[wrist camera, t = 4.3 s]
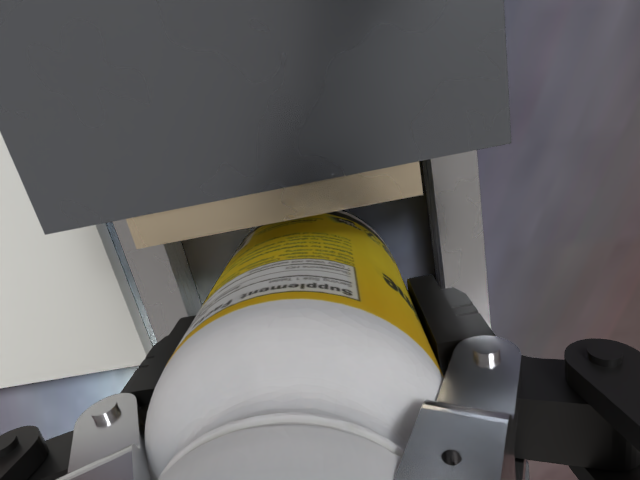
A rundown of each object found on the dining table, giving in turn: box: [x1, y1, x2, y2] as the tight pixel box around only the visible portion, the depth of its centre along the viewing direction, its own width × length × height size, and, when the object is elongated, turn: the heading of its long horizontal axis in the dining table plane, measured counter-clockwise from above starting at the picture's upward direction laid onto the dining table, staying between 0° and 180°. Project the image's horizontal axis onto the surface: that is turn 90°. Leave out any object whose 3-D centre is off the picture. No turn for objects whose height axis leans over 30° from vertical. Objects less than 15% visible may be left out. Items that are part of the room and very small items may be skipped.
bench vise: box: [0, 0, 529, 480], centre depth 13 cm, size 19×12×5 cm, turn 11°
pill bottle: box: [145, 210, 444, 480], centre depth 11 cm, size 6×6×11 cm
